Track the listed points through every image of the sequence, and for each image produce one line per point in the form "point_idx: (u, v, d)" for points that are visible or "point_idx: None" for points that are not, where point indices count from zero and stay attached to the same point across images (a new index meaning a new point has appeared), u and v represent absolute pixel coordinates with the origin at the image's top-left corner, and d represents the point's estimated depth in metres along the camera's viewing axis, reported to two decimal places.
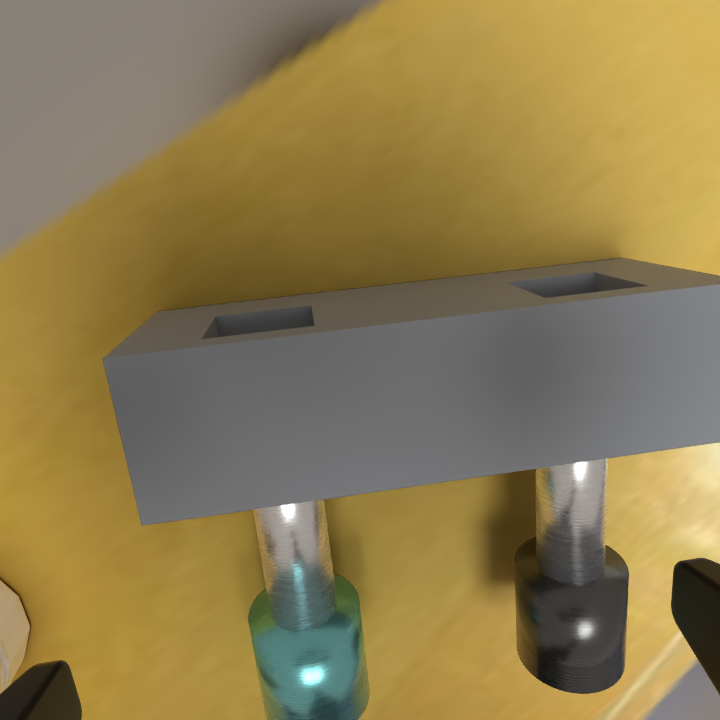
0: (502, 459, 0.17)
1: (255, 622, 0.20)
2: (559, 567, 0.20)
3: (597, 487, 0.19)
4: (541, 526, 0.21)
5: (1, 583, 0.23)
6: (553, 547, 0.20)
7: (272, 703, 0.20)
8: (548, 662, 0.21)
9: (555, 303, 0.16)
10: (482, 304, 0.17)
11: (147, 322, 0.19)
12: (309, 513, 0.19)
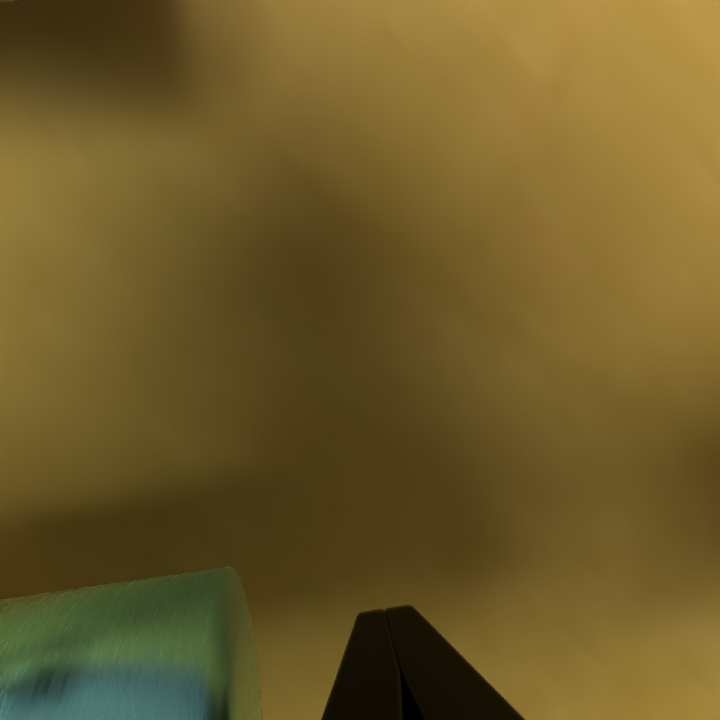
0: None
1: None
2: None
3: None
4: None
5: None
6: None
7: None
8: None
9: None
10: None
11: None
12: None
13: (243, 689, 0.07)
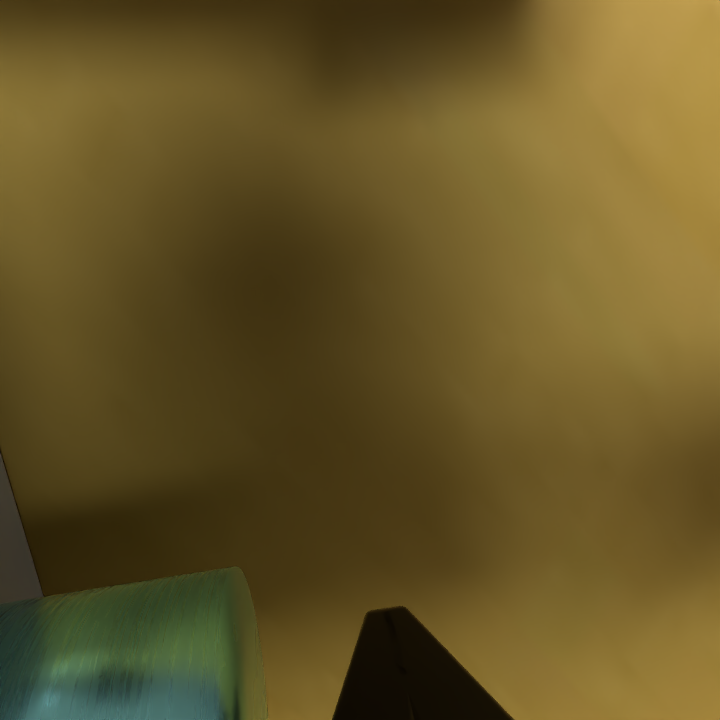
0: None
1: None
2: None
3: None
4: None
5: None
6: None
7: None
8: None
9: None
10: None
11: None
12: None
13: (252, 689, 0.07)
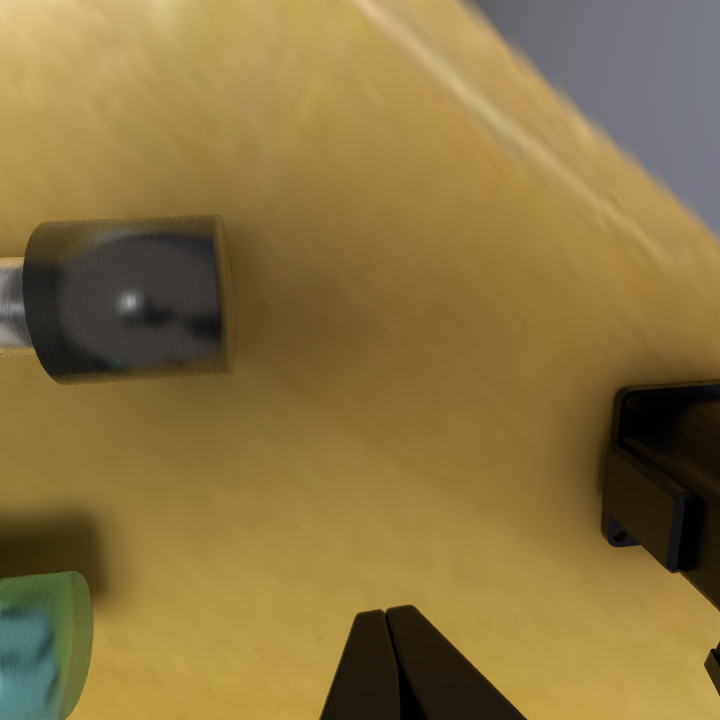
0: None
1: None
2: (26, 345, 0.14)
3: None
4: None
5: None
6: None
7: None
8: (181, 367, 0.14)
9: None
10: None
11: None
12: None
13: (76, 624, 0.17)
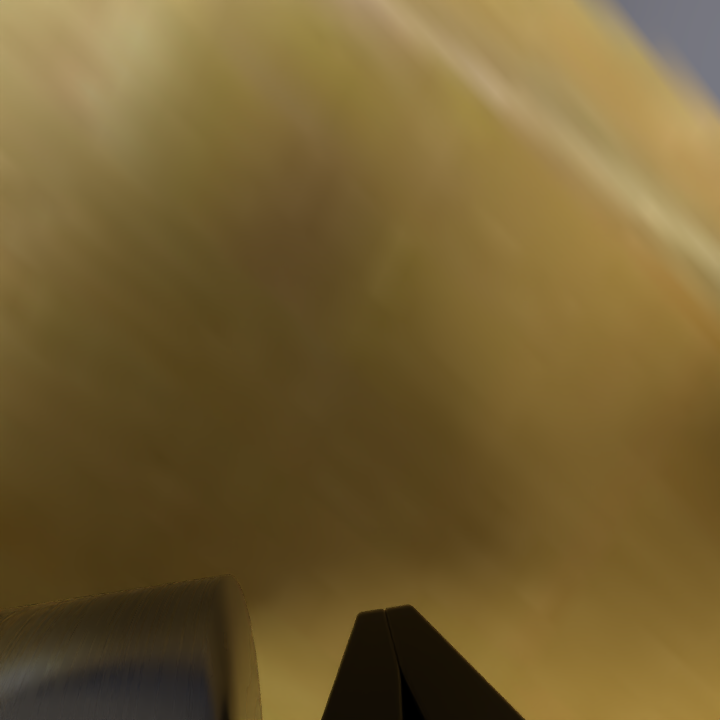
0: None
1: None
2: None
3: None
4: None
5: None
6: None
7: None
8: None
9: None
10: None
11: None
12: None
13: None
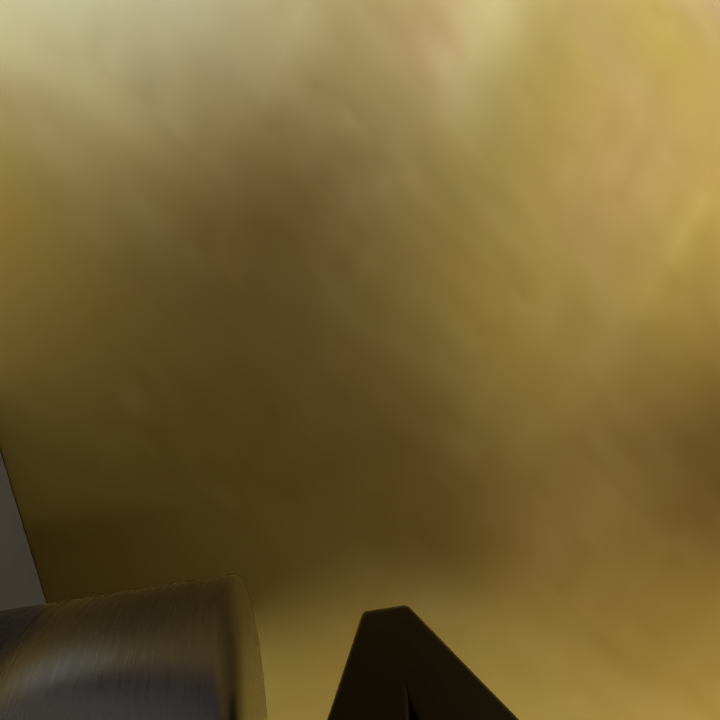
0: None
1: None
2: None
3: None
4: None
5: None
6: None
7: None
8: None
9: None
10: None
11: None
12: None
13: None
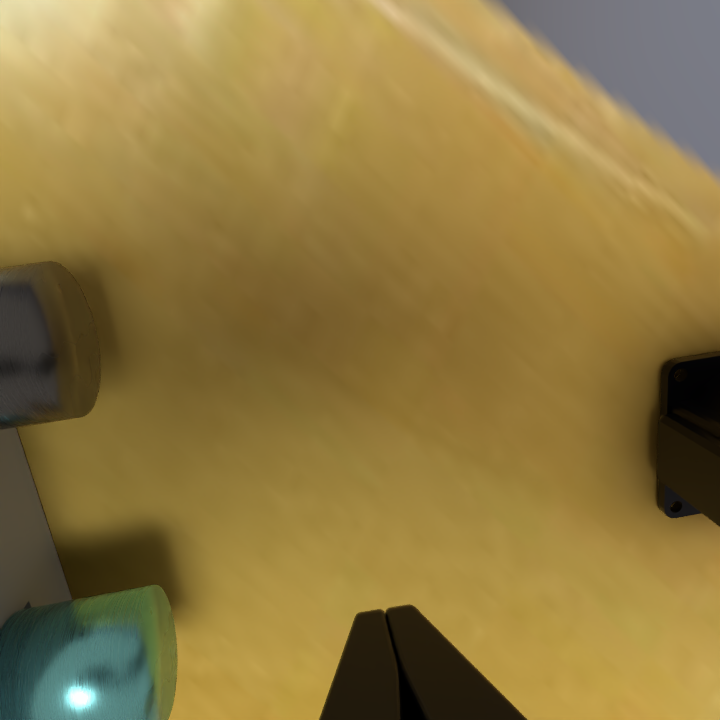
0: None
1: None
2: None
3: None
4: None
5: None
6: None
7: None
8: (20, 418, 0.14)
9: None
10: None
11: None
12: None
13: (162, 635, 0.18)
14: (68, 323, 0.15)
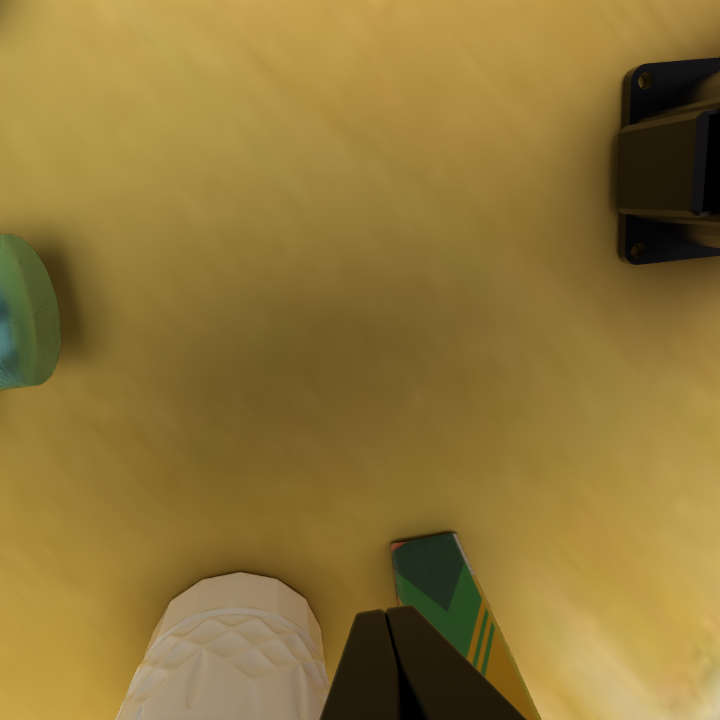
0: None
1: None
2: None
3: None
4: None
5: (182, 593, 0.22)
6: None
7: None
8: None
9: None
10: None
11: None
12: None
13: (36, 302, 0.16)
14: None
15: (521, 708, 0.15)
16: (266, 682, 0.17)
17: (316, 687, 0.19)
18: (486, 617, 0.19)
